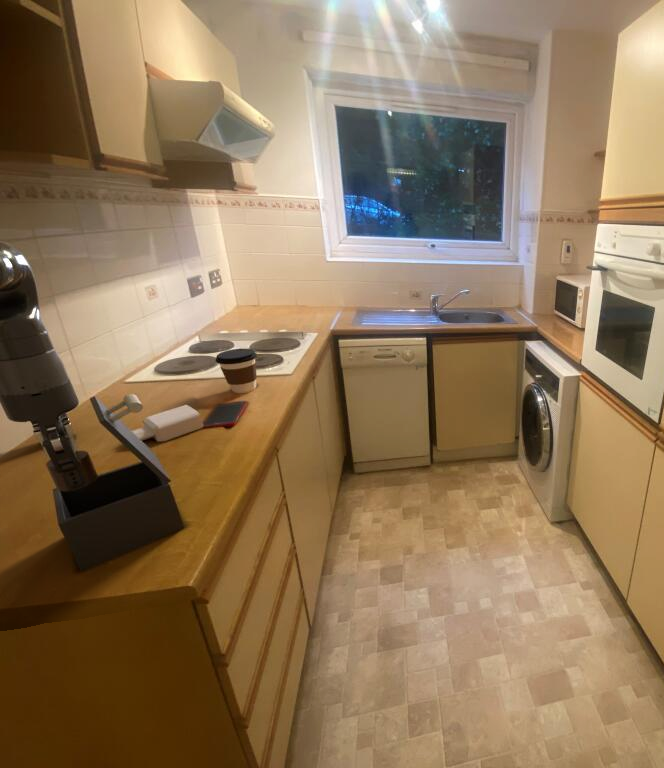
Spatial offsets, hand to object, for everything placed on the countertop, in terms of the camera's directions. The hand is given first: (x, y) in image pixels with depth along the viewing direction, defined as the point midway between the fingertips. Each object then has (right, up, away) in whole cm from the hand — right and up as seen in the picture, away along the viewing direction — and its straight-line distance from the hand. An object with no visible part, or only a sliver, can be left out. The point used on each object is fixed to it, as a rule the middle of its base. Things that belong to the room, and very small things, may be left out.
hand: (76, 480), depth 69 cm
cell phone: (-9, +6, +49) cm, 51 cm away
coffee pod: (0, 0, 0) cm, 0 cm away
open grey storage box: (+2, -11, +7) cm, 13 cm away
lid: (+5, +6, +3) cm, 8 cm away
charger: (-17, +2, +39) cm, 43 cm away
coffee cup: (-14, +14, +67) cm, 70 cm away
